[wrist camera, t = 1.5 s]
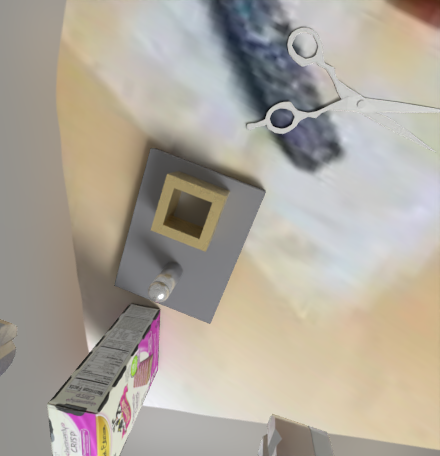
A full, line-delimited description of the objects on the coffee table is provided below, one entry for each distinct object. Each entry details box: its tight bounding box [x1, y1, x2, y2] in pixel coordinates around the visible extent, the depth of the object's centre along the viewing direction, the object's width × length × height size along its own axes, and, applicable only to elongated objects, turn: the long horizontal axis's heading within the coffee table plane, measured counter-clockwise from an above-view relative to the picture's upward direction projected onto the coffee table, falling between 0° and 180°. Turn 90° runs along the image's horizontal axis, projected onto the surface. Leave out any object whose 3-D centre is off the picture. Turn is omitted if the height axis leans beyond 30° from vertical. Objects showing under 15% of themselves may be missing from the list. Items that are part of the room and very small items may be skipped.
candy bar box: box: [47, 304, 160, 456], centre depth 32 cm, size 11×5×16 cm, turn 174°
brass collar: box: [151, 171, 230, 252], centre depth 29 cm, size 6×6×4 cm
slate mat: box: [114, 148, 266, 324], centre depth 34 cm, size 19×14×2 cm
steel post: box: [148, 262, 183, 302], centre depth 31 cm, size 2×2×6 cm
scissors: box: [247, 28, 440, 153], centre depth 28 cm, size 11×1×20 cm
